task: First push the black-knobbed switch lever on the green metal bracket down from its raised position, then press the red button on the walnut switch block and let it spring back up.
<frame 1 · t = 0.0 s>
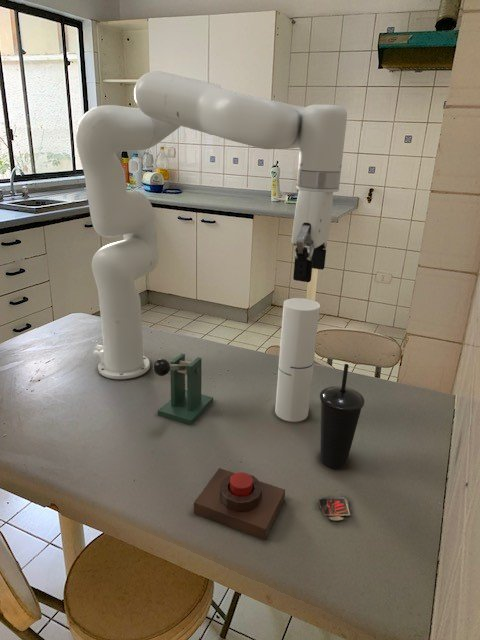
hand: (309, 274, 88), 31 cm above the table, tool pointing down, fingers open, 9 cm apart
matchbox: (334, 510, 74), on the table
drinking cup: (333, 461, 86), on the table
switch block: (240, 506, 74), on the table
switch bracket: (186, 408, 100), on the table
button: (241, 484, 73), point 4 cm above the table, slide at 0.1 cm
switch lever: (174, 367, 92), point 12 cm above the table, hinge at 25.0°
cylindrical container: (291, 413, 100), on the table
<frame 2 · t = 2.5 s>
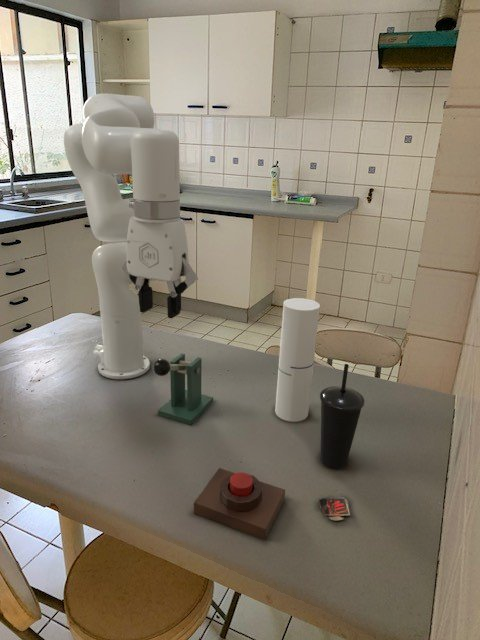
hand: (160, 312, 83), 25 cm above the table, tool pointing down, fingers open, 5 cm apart
nothing on the table moved.
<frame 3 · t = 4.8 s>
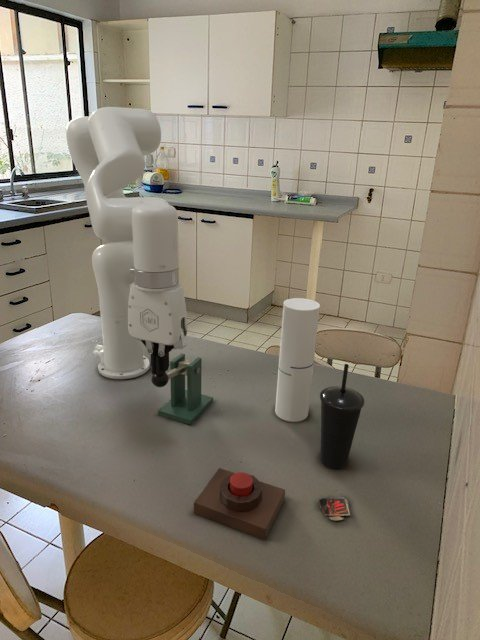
hand: (160, 371, 87), 14 cm above the table, tool pointing down, fingers closed
switch lever: (173, 372, 92), point 11 cm above the table, hinge at 12.3°, touching gripper
everything else where it was.
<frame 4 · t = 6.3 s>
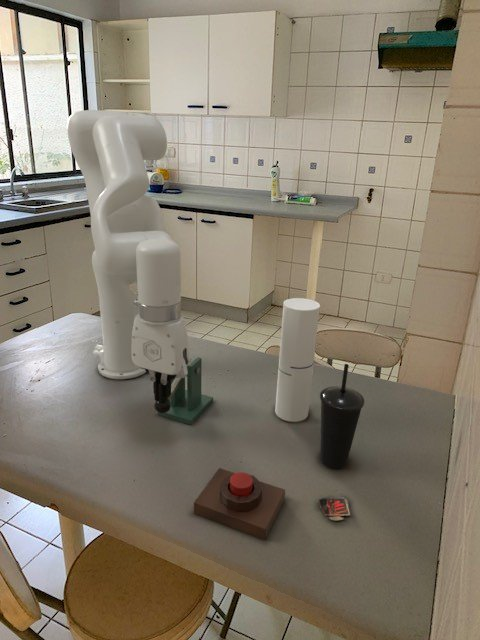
hand: (162, 398, 90), 8 cm above the table, tool pointing down, fingers closed
switch lever: (174, 386, 93), point 8 cm above the table, hinge at -24.0°, touching gripper
everything else where it was.
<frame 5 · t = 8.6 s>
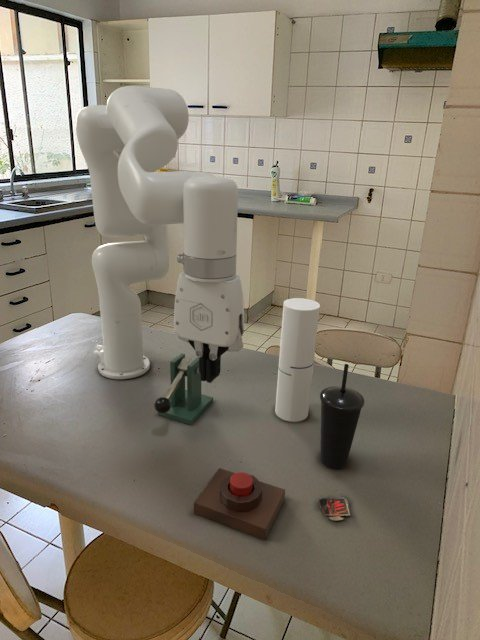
hand: (209, 378, 74), 19 cm above the table, tool pointing down, fingers closed
switch lever: (174, 386, 93), point 8 cm above the table, hinge at -24.1°
everything else where it was.
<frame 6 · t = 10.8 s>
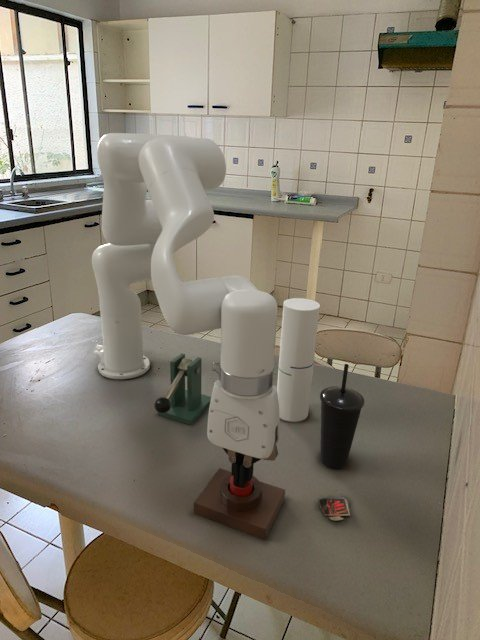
hand: (241, 480, 72), 5 cm above the table, tool pointing down, fingers closed
button: (241, 484, 73), point 4 cm above the table, slide at 0.1 cm, touching gripper
everything else where it was.
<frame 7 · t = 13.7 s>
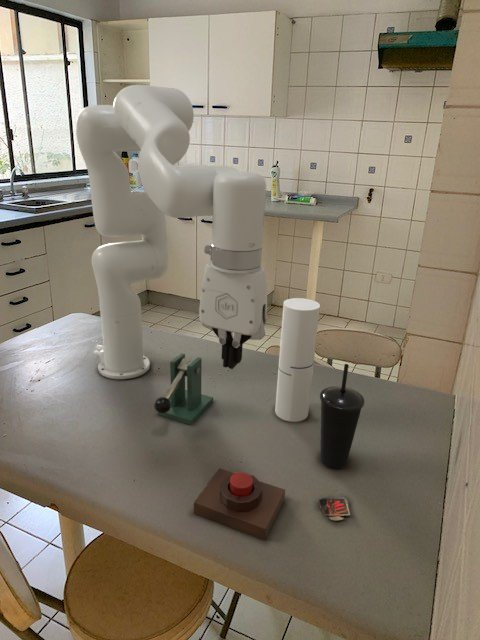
hand: (231, 364, 77), 20 cm above the table, tool pointing down, fingers closed
button: (241, 484, 73), point 4 cm above the table, slide at 0.1 cm
everything else where it was.
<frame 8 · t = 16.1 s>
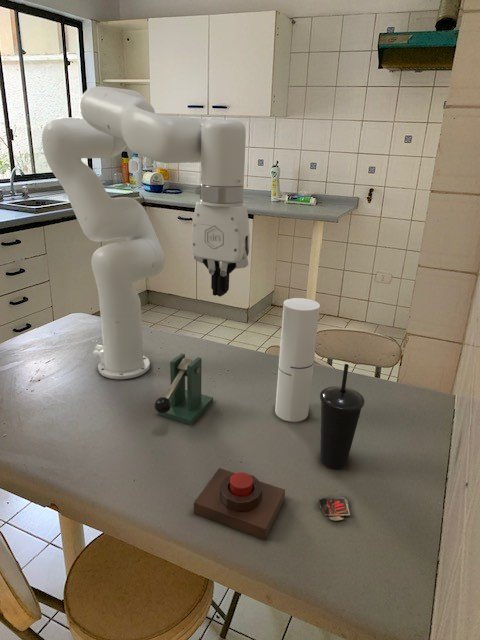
hand: (219, 293, 89), 27 cm above the table, tool pointing down, fingers closed
nothing on the table moved.
at the end: switch lever at -24° (first picture: +25°); button pushed in 1.1 cm at the most during the clip, back to where it started at the end; button slide at 0.1 cm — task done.
